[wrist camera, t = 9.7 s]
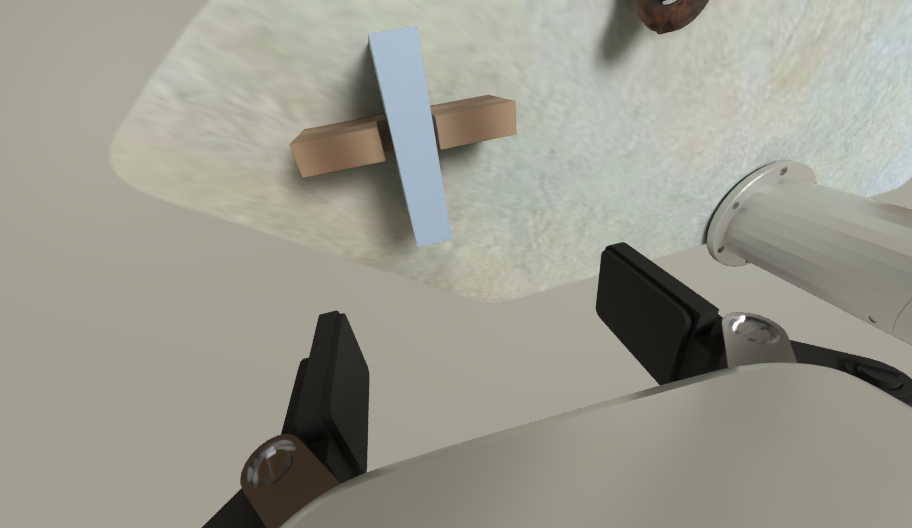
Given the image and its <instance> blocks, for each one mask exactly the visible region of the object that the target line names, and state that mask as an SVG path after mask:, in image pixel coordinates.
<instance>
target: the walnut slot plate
mask: <svg viewBox="0 0 912 528" xmlns="http://www.w3.org/2000/svg"><path fill="white" fill-rule="evenodd" d="M430 109H431V115H432V121H433V127H434V133H435V139H436V145H437V146H438V147H439V148H440V149H446V148H451V147H456V146H461V145H466V144H471V143H476V142H481V141H486V140H491V139H495V138H500V137H505V136H510V135H515V134H517V132H516V108H515V101H512V100H508V99H504V98H500V97H496V96H491V95H486V96H480V97H475V98H470V99H464V100H459V101H454V102H448V103H443V104H437V105H432V106H430ZM289 145H290V148H291V150H292V153H293V155H294V158H295V160H296V163H297V165H298V168H299V170H300V172H301V175H302V177H303V178H304V177H309V176H314V175H319V174H324V173H328V172H333V171H338V170H343V169H348V168H353V167H358V166H363V165H368V164H373V163H378V162H382V161H386V159H385V153H384V151H388V150H393V149H394V148H393V144H392V139H391V135H390V131H389V126H388V122H387V118H386V115H385V114H384V115H379V116H373V117H368V118H363V119H357V120H352V121H347V122H341V123H336V124H331V125H325V126H320V127H315V128H309V129H304V130H303V131H302V132H301V133H300V134H299V135H298V136H297V137H296V138H295V139H294V140H293V141H292V142H291V143H290V144H289Z"/></svg>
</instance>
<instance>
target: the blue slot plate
mask: <svg viewBox="0 0 912 528" xmlns="http://www.w3.org/2000/svg"><path fill="white" fill-rule="evenodd" d="M368 43H369V47H370V52H371V56H372V60H373V64H374V69H375V73H376V77H377V82H378V86H379V90H380V94H381V99H382V103H383V107H384V112H385V115H386V118H387V122H388V126H389V131H390V135H391V139H392V144H393V148H394V152H395V156H396V158H395V159H396V163H397V167H398V172H399V176H400V180H401V185H402V189H403V193H404V197H405V202H406V206H407V210H408V214H409V217H410V221H411V225H412V229H413V232H414V236H415V240H416V243H417V247H421V246H426V245H430V244H434V243H439V242H443V241H447V240H451V239H452V237H451V231H450V225H449V219H448V213H447V207H446V201H445V194H444V188H443V182H442V176H441V170H440V164H439V158H438V152H437V145H436V139H435V133H434V127H433V121H432V115H431V109H430V103H429V96H428V90H427V84H426V78H425V72H424V66H423V60H422V54H421V48H420V41H419V35H418V29H417V26H414V27H407V28H401V29H394V30H388V31H381V32H374V33H368Z"/></svg>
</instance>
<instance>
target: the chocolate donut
mask: <svg viewBox="0 0 912 528" xmlns="http://www.w3.org/2000/svg"><path fill="white" fill-rule="evenodd" d="M663 1H666V0H638V13H639V17H640V19H641V20H642V22H643V23H644V24H645V25H646V26H647V27H648V28H649V29H650V30H653V31H656V32H657V33H658V34H663V33H667V32H672V31H675V30H678V29H681V28H683V27H685V26H686V25H688V24H689V23H690V22H692V21H693V20H694V19H695V18H696V17H697V16H698V15H699V14H700V12H701V11H702V10H703V9H704V7H705V6H706V4H707V3H708V1H709V0H677V1H675V2H673V3H671V4H667V5H664V4H662V2H663Z"/></svg>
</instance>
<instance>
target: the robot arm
mask: <svg viewBox="0 0 912 528" xmlns="http://www.w3.org/2000/svg"><path fill="white" fill-rule="evenodd" d="M707 248H708V251H709V253H710V255H711V256H712V257H713V258H714V259H715V260H717V261H718V262H720V263H722V264H724V265H727V266H743V265H746V264H749V263H752V264H754V265H756V266H758V267H760V268H762V269H764V270H766V271H768V272H770V273H772V274H773V275H775V276H777V277H779V278H781V279H783V280H785V281H787V282H789V283H791V284H793V285H795V286H797V287H799V288H801V289H803V290H805V291H807V292H808V293H810V294H812V295H814V296H817V297H818V298H820V299H822V300H824V301H826V302H828V303H830V304H832V305H834V306H836V307H837V308H840V309H841V310H843V311H845V312H847V313H849V314H851V315H853V316H855V317H857V318H859V319H861V320H863V321H865V322H867V323H869V324H870V325H872V326H874V327H876V328H878V329H880V330H882V331H884V332H886V333H888V334H890V335H892V336H894V337H896V338H898V339H900V340H902V341H904V342H905V343H907V344H909V345H911V346H912V209H908V208H905V207H901V206H897V205H893V204H889V203H886V202H881V201H878V200H874V199H870V198H867V197H863V196H859V195H855V194H852V193H848V192H844V191H840V190H836V189H833V188H829V187H825V186H821V185H818V184H817V182H816V176H815V174H814V172H813V170H812V169H811V168H810V167H809V166H808V165H805V164H803V163H799V162H794V161H779V162H775V163H772V164H769V165H767V166H765V167H763V168H760V169H759V170H757V171H755V172H754V173H752V174H751V175H749V176H748V177H747V178H745V179H744V180H743V181H742V182H740V183H739V184H738V185H737V186H736V187H735V188H734V189H733V190H732V191H731V192H730V193H729V194H728V196H727V197H726V198H725V199H724V201H723V202H722V203H721V205H720V206H719V208H718V210H717V211H716V213H715V215H714V217H713V219H712V221H711V223H710V227H709V230H708V235H707ZM718 311H719V309H718V308H717V307H715V306H714V305H712V304H711V303H709V302H708V301H707V300H705V299H704V298H703V297H701V296H700V295H698V294H697V293H695V292H694V291H693V290H691V289H690V288H688V287H687V286H686V285H684V284H683V283H681V282H680V281H679V280H677V279H676V278H674V277H673V276H671V275H670V274H669V273H667V272H666V271H664V270H663V269H662V268H660V267H659V266H657V265H656V264H655V263H653V262H652V261H650V260H649V259H647V258H646V257H645V256H643V255H642V254H640V253H639V252H638V251H636V250H635V249H633V248H632V247H631V246H629V245H628V244H626V243H624V242H622V243H617V244H613V245H609V246H607V247H606V248H605V251H603V252H602V254H601V263H600V273H599V283H598V291H597V301H596V312H597V314H598V316H599V317H600V318H601V319H602V321H603V322H604V323H605V324H606V325H607V326H608V327H609V329H610V330H611V331H612V332H613V333H614V334H615V335H616V336H617V338H618V339H619V340H620V341H621V342H622V343H623V344H624V345H625V346H626V348H627V349H628V350H629V351H630V352H631V353H632V354H633V356H634V357H635V358H636V359H637V360H638V361H639V362H640V363H641V365H642V366H643V367H644V368H645V369H646V370H647V371H648V372H649V374H650V375H651V376H652V377H653V378H654V379H655V380H656V381H657V382H658V384H659V385H660V386H657V387H654V388H650V389H647V390H643V391H639V392H636V393H633V394H629V395H626V396H622V397H618V398H614V399H611V400H607V401H604V402H600V403H597V404H593V405H590V406H586V407H583V408H579V409H576V410H572V411H569V412H565V413H562V414H558V415H555V416H552V417H548V418H544V419H541V420H538V421H534V422H530V423H527V424H524V425H520V426H517V427H513V428H510V429H506V430H503V431H500V432H496V433H493V434H489V435H486V436H482V437H479V438H476V439H472V440H469V441H465V442H462V443H459V444H455V445H452V446H448V447H445V448H442V449H438V450H435V451H432V452H428V453H426V454H422V455H419V456H416V457H412V458H409V459H406V460H403V461H400V462H396V463H393V464H390V465H387V466H384V467H381V468H379V469H376V470H373V471H370V472H367V473H366V471H367V446H368V409H369V371H368V366H367V364H366V362H365V359H364V357H363V354H362V352H361V350H360V347H359V345H358V343H357V340H356V338H355V335H354V333H353V331H352V329H351V326H350V324H349V321H348V319H347V317H346V315H345V314H344V313H343V314H340V313H339V312H338V311H333V312H329V313H324V314H321V315H319V318H318V322H317V326H316V330H315V335H314V339H313V343H312V348H311V352H310V356H309V358H305V359H303V360H302V361H301V362H300V365H299V369H298V372H297V376H296V380H295V384H294V387H293V391H292V395H291V399H290V403H289V406H288V410H287V414H286V418H285V421H284V425H283V429H282V433H281V435H278V436H276V437H273V438H271V439H269V440H267V441H266V442H265V443H263V444H262V445H260V446H259V447H258V448H257V449H256V450H255V451H254V452H253V453H252V454H251V456H250V457H249V459H248V460H247V462H246V463H245V465H244V467H243V470H242V472H241V479H240V484H241V487H242V488H241V489H240V490H239V491H238V492H237V493H236V494H235V495H234V496H233V497H232V498H231V499H230V500H229V501H228V502H227V503H226V504H225V505H224V506H223V507H222V508H221V509H220V510H219V511H218V512H217V513H216V514H215V515H214V516H213V517H212V518H211V519H210V520H209V521H208V522H207V523H206V524H205V525H204V526H203V527H202V528H912V379H911V378H910V377H909V376H907V375H906V374H904V373H903V372H901V371H899V370H897V369H896V368H894V367H892V366H889V365H887V364H885V363H882V362H880V361H876V360H873V359H870V358H866V357H861V356H856V355H852V354H848V353H844V352H839V351H835V350H831V349H826V348H822V347H818V346H814V345H809V344H805V343H801V342H797V341H792V340H789V337H788V335H787V333H786V332H785V330H784V329H783V328H782V327H781V326H780V325H778V324H777V323H775V322H773V321H772V320H770V319H768V318H765V317H763V316H760V315H756V314H752V313H744V312H736V313H730V314H727V315H726V316H725V317H724V318H722V317H721V316H720V315H718Z"/></svg>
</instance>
